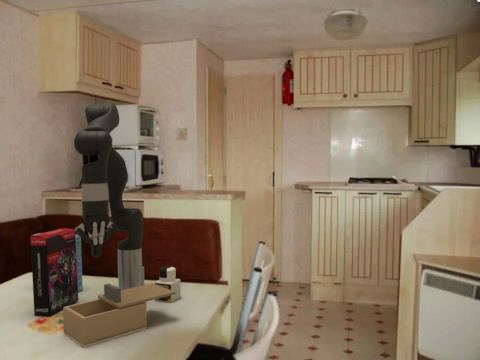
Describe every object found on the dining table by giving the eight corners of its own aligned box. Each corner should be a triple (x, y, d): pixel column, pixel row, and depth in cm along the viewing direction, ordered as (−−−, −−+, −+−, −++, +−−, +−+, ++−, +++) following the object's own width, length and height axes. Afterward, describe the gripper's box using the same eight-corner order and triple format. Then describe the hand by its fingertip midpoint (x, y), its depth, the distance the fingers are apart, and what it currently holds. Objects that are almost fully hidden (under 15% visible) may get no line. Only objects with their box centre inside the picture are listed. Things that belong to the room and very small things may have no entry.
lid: (152, 285, 151) (152, 272, 150) (175, 294, 140) (175, 279, 140) (97, 298, 137) (97, 283, 137) (118, 308, 127) (118, 292, 127)
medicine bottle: (154, 300, 160) (153, 268, 160) (164, 295, 167) (164, 264, 166) (171, 303, 158) (170, 270, 157) (180, 297, 164) (180, 266, 164)
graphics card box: (49, 317, 144) (47, 235, 143) (31, 316, 145) (29, 235, 144) (78, 301, 161) (77, 228, 160) (62, 300, 162) (60, 227, 161)
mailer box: (124, 316, 144) (124, 293, 143) (146, 328, 133) (146, 302, 133) (63, 333, 130) (63, 307, 130) (83, 347, 120) (82, 318, 119)
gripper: (110, 196, 135) (111, 251, 136) (67, 199, 126) (69, 258, 127) (121, 197, 130) (123, 255, 131) (78, 201, 121) (80, 262, 122)
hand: (96, 256), depth 129 cm, fingers closed
